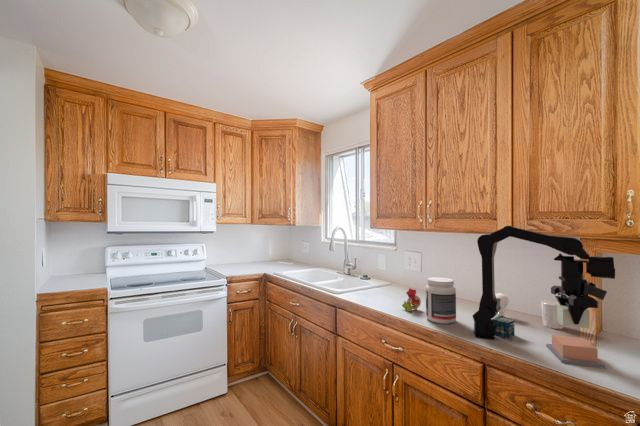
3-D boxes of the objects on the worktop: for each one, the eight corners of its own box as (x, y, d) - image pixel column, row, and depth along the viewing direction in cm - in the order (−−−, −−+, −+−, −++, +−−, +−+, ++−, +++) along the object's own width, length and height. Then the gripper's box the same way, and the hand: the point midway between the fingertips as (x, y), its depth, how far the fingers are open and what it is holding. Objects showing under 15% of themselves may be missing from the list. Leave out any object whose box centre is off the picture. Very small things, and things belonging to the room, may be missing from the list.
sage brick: (563, 325, 99) (562, 308, 99) (557, 321, 103) (557, 305, 103) (589, 328, 96) (589, 311, 96) (582, 323, 101) (582, 307, 101)
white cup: (565, 326, 128) (564, 302, 128) (564, 331, 122) (563, 306, 122) (542, 322, 133) (542, 299, 134) (540, 326, 127) (540, 303, 128)
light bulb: (495, 318, 138) (495, 294, 138) (490, 313, 144) (490, 291, 145) (511, 319, 136) (511, 295, 137) (506, 315, 143) (505, 291, 143)
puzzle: (498, 331, 122) (497, 316, 122) (514, 335, 118) (514, 320, 118) (491, 334, 119) (491, 319, 119) (508, 339, 114) (508, 323, 114)
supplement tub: (462, 322, 132) (462, 280, 133) (442, 326, 127) (442, 283, 127) (439, 314, 144) (438, 275, 144) (419, 318, 138) (419, 278, 138)
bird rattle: (411, 312, 154) (397, 306, 151) (419, 291, 155) (405, 285, 153) (419, 316, 148) (404, 310, 145) (427, 294, 149) (412, 288, 147)
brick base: (561, 362, 95) (561, 346, 95) (546, 346, 107) (546, 332, 107) (605, 368, 91) (605, 352, 91) (584, 351, 104) (583, 336, 104)
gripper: (619, 282, 88) (620, 335, 88) (587, 271, 106) (588, 316, 106) (573, 279, 92) (574, 330, 92) (550, 269, 110) (550, 312, 109)
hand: (572, 321), depth 100 cm, fingers closed on sage brick, 5 cm apart
